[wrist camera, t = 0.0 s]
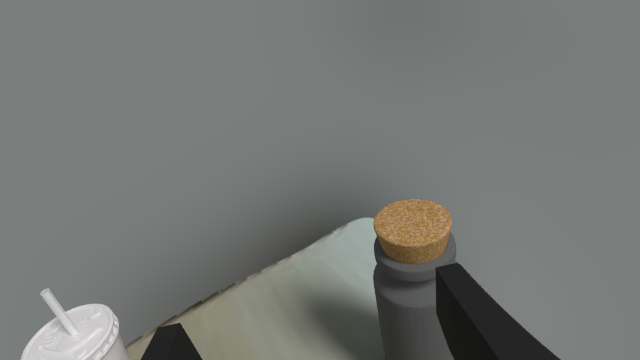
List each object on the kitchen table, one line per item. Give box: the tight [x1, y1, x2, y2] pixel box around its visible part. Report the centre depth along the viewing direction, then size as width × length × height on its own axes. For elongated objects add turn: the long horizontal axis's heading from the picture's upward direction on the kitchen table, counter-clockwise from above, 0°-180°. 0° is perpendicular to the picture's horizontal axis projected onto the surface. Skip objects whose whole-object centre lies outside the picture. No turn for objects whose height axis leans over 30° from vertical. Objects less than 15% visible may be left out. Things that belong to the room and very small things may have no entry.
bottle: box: [373, 199, 457, 360], centre depth 29 cm, size 6×6×15 cm
